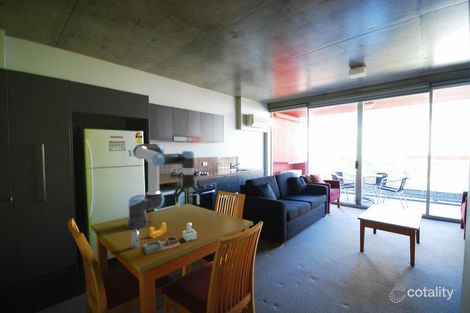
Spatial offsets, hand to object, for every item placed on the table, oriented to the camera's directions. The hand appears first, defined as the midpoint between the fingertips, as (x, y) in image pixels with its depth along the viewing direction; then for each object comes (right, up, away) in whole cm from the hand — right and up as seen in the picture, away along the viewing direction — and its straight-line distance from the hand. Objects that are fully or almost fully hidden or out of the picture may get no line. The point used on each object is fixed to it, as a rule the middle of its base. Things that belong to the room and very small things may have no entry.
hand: (188, 205), depth 139 cm
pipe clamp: (-23, -23, +8) cm, 33 cm away
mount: (-14, -23, -11) cm, 29 cm away
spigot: (-30, -23, -11) cm, 40 cm away
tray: (0, -23, +1) cm, 23 cm away
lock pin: (0, -22, +1) cm, 22 cm away
